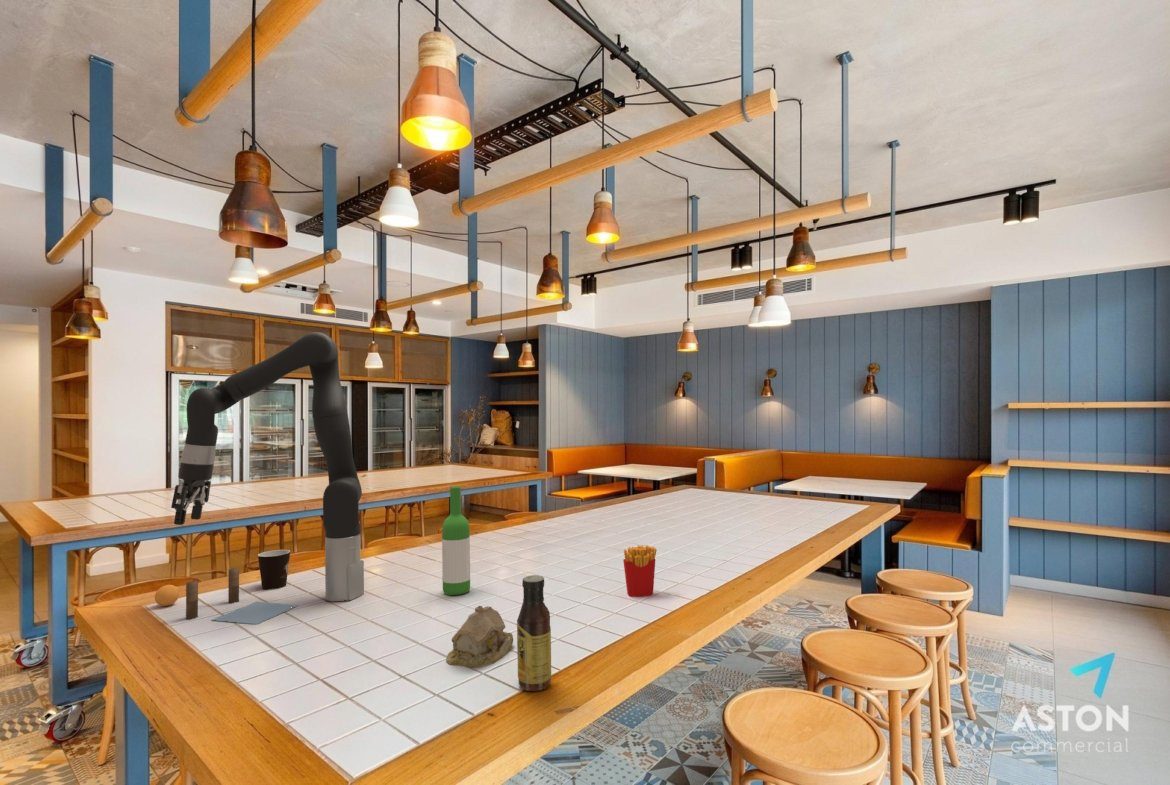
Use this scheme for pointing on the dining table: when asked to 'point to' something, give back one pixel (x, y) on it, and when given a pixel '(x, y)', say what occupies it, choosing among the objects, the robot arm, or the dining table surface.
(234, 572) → the right post
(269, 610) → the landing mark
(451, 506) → the wine bottle
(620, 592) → the dining table surface
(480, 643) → the ceramic model
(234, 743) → the dining table surface
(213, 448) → the robot arm
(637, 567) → the french fries
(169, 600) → the ball
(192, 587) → the left post
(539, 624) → the sauce bottle
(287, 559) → the coffee mug
